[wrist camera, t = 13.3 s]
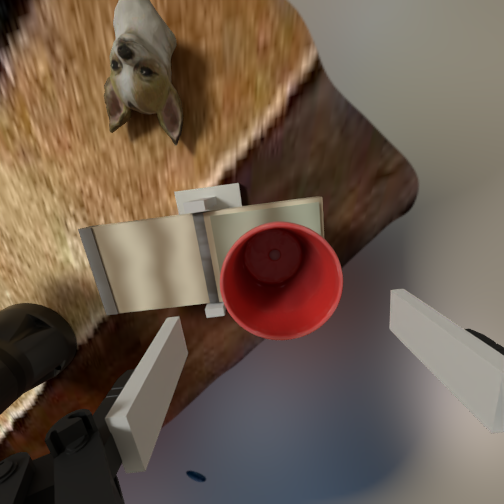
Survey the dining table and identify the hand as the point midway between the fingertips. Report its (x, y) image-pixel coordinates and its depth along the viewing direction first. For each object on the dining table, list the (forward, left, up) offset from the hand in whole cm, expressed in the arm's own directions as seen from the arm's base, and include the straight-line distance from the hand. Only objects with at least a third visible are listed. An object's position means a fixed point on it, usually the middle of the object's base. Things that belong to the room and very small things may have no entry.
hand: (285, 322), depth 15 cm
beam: (-8, 0, -18) cm, 20 cm away
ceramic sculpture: (-13, +24, -26) cm, 38 cm away
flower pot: (+1, 0, -16) cm, 16 cm away
